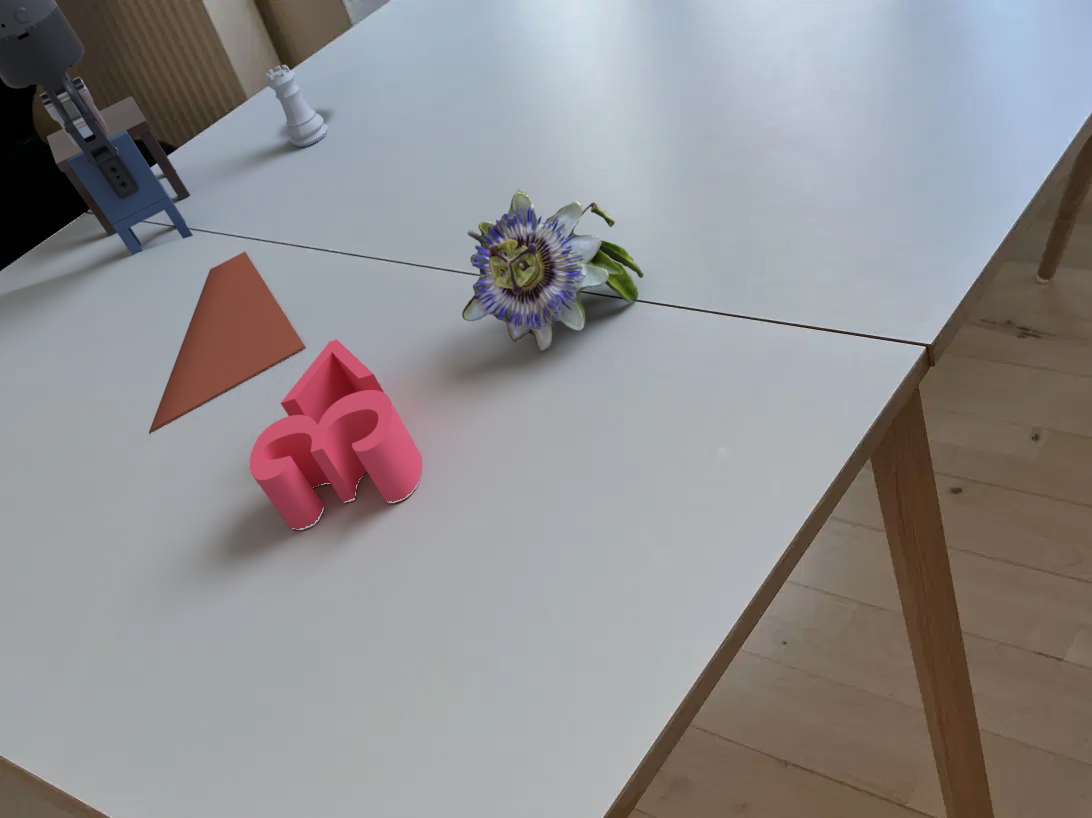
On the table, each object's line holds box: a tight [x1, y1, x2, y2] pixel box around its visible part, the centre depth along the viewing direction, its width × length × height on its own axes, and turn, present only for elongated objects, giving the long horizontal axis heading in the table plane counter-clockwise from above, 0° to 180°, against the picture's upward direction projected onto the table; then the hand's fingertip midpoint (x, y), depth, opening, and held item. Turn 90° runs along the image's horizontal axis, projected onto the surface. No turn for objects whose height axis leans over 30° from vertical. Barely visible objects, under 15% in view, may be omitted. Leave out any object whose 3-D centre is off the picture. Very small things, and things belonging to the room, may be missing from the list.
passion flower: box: [461, 189, 644, 352], centre depth 83 cm, size 11×11×12 cm
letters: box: [249, 338, 423, 529], centre depth 78 cm, size 14×10×5 cm
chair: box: [68, 131, 194, 256], centre depth 110 cm, size 6×6×12 cm
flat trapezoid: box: [148, 251, 307, 433], centre depth 98 cm, size 22×14×1 cm, turn 30°
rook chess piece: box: [265, 64, 329, 148], centre depth 121 cm, size 4×4×8 cm
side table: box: [46, 95, 191, 237], centre depth 121 cm, size 10×10×9 cm
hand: (128, 191), depth 108 cm, fingers closed on chair, 1 cm apart
